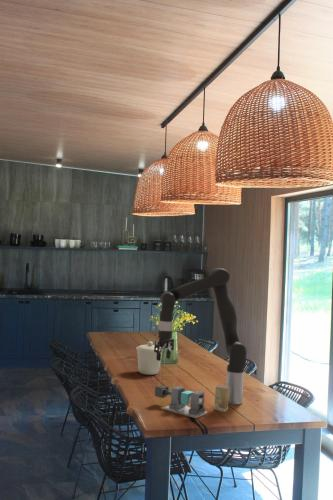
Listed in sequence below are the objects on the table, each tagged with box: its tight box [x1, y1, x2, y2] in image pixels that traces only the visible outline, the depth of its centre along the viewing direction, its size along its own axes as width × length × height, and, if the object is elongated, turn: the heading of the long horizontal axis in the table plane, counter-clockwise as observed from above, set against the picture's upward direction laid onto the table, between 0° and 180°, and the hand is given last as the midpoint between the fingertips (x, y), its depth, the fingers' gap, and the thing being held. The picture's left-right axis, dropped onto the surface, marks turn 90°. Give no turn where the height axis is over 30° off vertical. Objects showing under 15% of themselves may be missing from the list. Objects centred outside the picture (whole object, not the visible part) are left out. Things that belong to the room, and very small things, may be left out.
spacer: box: [181, 390, 193, 406], centre depth 259 cm, size 6×4×6 cm, turn 144°
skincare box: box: [213, 384, 230, 413], centre depth 266 cm, size 6×4×12 cm
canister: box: [135, 340, 164, 376], centre depth 338 cm, size 18×18×21 cm
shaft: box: [154, 384, 203, 404], centre depth 262 cm, size 28×5×5 cm, turn 54°
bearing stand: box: [162, 385, 208, 419], centre depth 260 cm, size 11×20×11 cm, turn 54°
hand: (163, 359), depth 273 cm, fingers open, 8 cm apart
